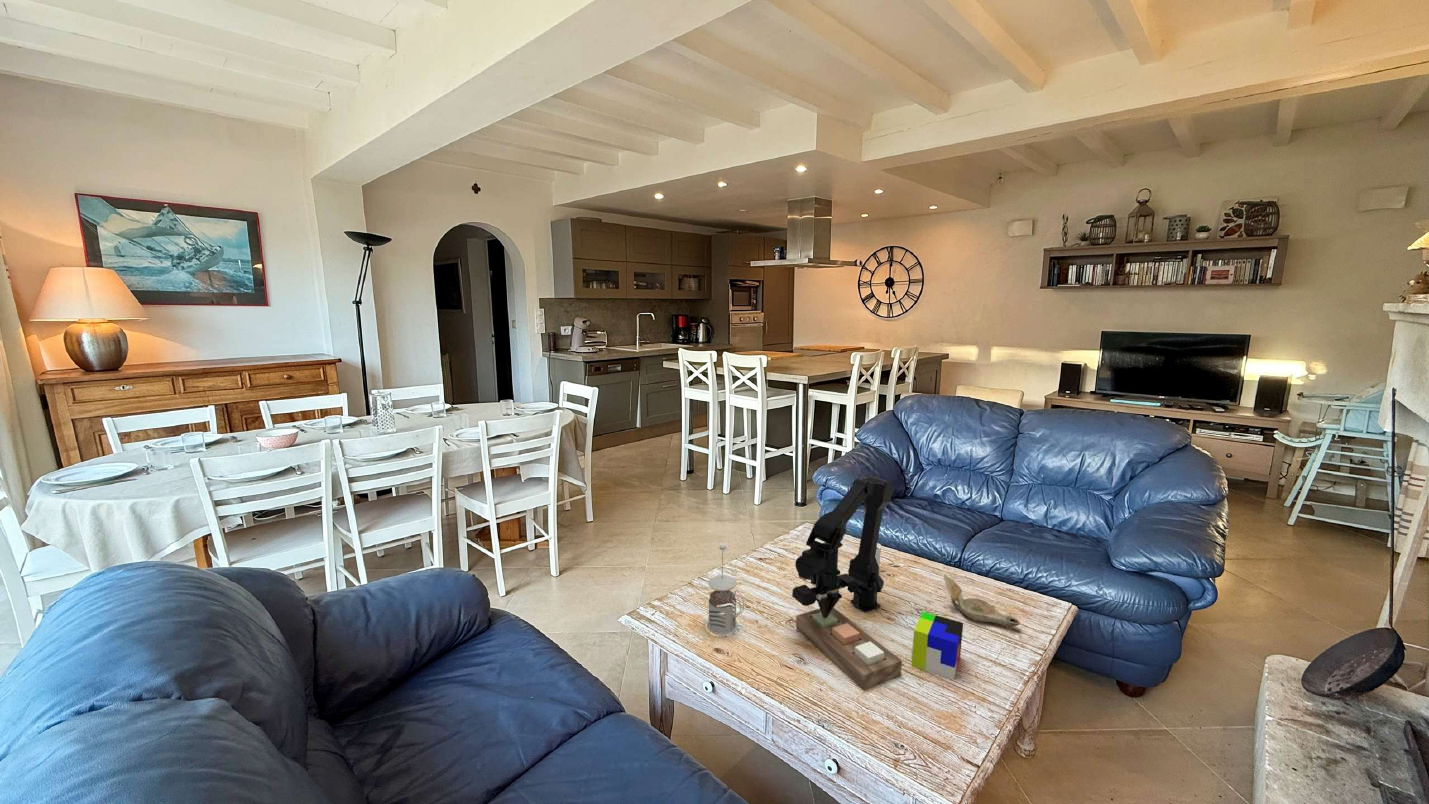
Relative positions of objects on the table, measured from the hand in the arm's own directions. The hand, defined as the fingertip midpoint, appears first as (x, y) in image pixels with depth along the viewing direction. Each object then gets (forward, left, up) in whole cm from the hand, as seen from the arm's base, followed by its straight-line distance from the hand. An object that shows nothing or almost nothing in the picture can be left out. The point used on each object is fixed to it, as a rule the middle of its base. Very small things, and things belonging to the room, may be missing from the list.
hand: (824, 617), depth 154 cm
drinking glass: (-35, -21, -5) cm, 41 cm away
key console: (0, +9, -5) cm, 10 cm away
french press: (+24, -14, -5) cm, 28 cm away
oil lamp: (-45, +14, -5) cm, 47 cm away
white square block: (0, +18, -2) cm, 18 cm away
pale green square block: (0, 0, -3) cm, 3 cm away
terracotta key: (0, +9, -2) cm, 9 cm away
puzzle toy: (-18, +23, -5) cm, 30 cm away
